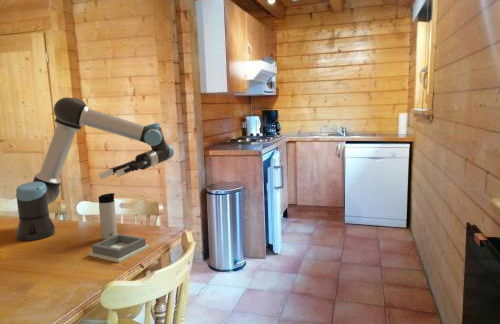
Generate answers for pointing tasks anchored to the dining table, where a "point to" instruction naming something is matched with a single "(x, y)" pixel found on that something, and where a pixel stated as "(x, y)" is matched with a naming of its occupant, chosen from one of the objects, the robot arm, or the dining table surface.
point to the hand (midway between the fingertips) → (108, 175)
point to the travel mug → (107, 216)
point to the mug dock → (118, 247)
